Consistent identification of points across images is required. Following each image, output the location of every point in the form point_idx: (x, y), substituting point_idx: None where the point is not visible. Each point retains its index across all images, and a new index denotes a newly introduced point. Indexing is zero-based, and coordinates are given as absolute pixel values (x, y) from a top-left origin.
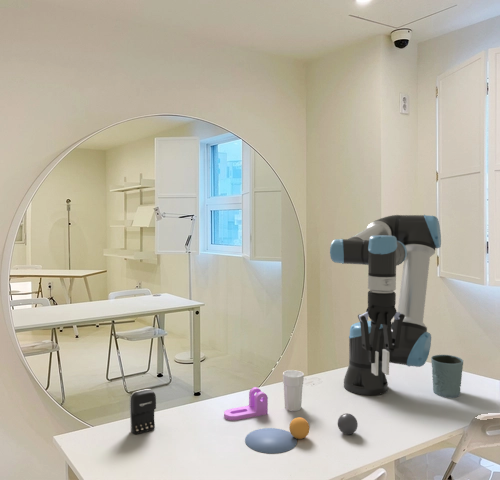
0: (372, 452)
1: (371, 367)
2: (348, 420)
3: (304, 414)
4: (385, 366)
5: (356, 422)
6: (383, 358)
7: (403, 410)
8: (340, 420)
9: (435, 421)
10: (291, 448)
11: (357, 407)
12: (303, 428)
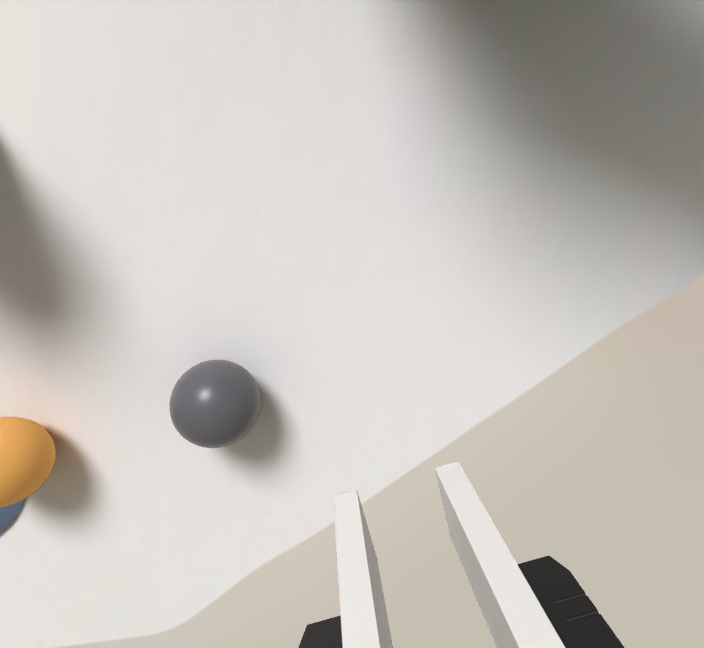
0: (301, 505)
1: (335, 529)
2: (211, 447)
3: (20, 208)
4: (470, 576)
5: (251, 427)
6: (492, 602)
7: (522, 127)
8: (177, 430)
9: (613, 244)
10: (13, 518)
11: (300, 97)
12: (15, 502)
